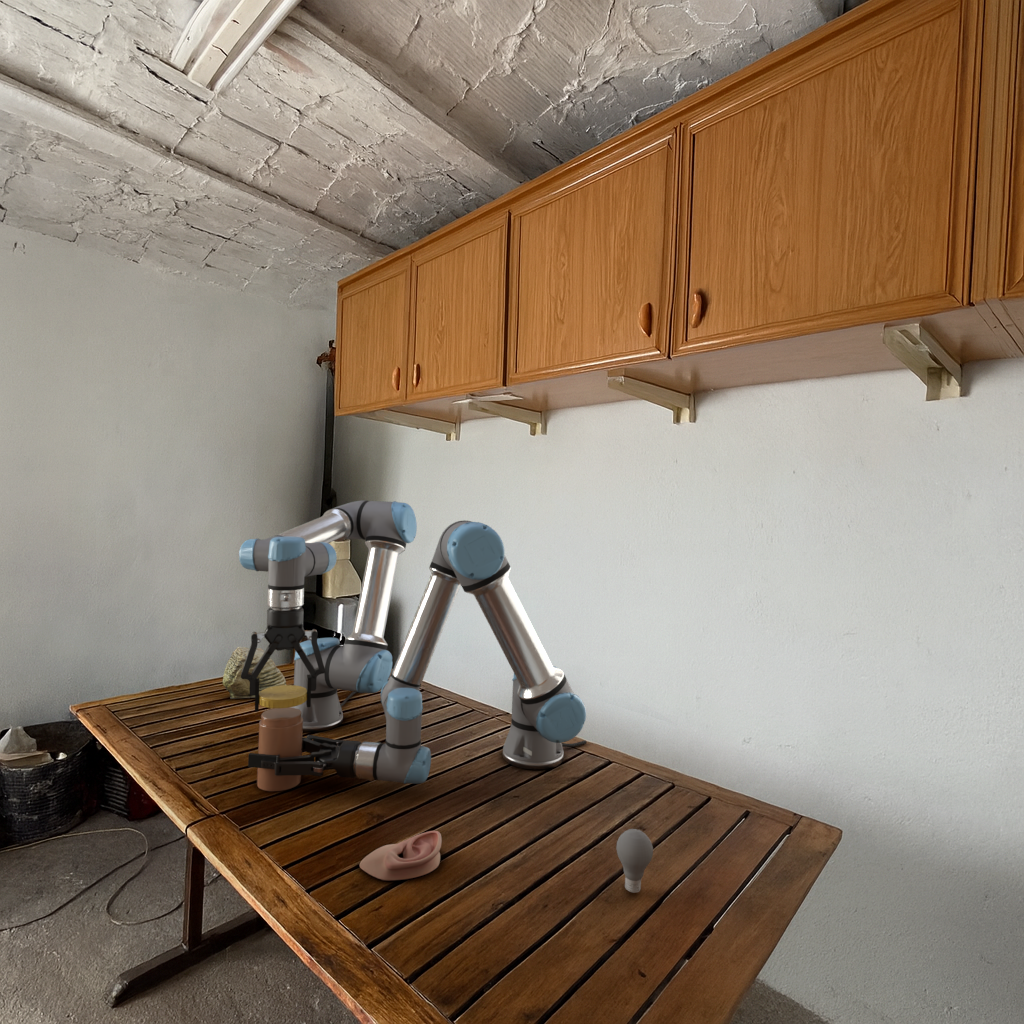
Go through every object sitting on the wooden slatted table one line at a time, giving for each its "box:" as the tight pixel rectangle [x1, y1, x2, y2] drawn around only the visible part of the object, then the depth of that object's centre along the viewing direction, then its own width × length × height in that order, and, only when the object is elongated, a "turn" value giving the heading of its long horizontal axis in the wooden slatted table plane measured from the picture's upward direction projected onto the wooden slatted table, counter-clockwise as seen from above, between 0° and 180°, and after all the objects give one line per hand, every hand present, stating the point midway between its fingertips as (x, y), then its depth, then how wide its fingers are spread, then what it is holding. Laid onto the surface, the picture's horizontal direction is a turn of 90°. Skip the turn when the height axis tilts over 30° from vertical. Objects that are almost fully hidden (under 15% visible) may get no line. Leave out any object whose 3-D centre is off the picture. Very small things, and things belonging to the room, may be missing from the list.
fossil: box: [222, 646, 287, 699], centre depth 198 cm, size 9×18×15 cm, turn 132°
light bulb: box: [615, 828, 654, 894], centre depth 106 cm, size 6×6×10 cm
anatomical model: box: [359, 830, 443, 882], centre depth 111 cm, size 13×4×12 cm
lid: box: [259, 684, 307, 709], centre depth 140 cm, size 10×10×2 cm
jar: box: [256, 707, 304, 792], centre depth 140 cm, size 9×9×15 cm
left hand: (282, 707), depth 140 cm, fingers closed on lid, 10 cm apart
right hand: (260, 750), depth 140 cm, fingers closed on jar, 9 cm apart
